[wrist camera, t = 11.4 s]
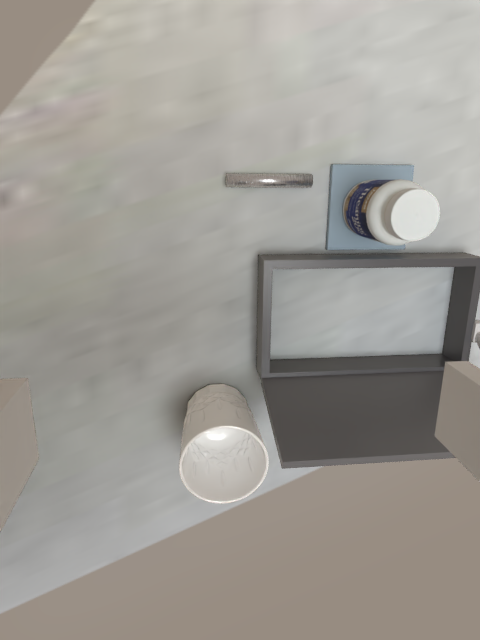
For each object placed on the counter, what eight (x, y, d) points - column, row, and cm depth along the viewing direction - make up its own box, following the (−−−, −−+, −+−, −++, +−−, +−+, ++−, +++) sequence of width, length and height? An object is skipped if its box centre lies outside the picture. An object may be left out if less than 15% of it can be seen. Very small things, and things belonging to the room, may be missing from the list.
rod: (225, 186, 43) (226, 187, 42) (225, 173, 42) (226, 173, 41) (309, 187, 44) (312, 187, 43) (309, 174, 43) (313, 174, 42)
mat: (325, 249, 46) (327, 249, 45) (330, 164, 43) (332, 164, 43) (402, 248, 46) (404, 249, 46) (411, 165, 44) (414, 165, 44)
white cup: (260, 432, 51) (277, 489, 41) (192, 451, 51) (193, 514, 41) (243, 369, 48) (257, 415, 39) (171, 389, 48) (167, 440, 39)
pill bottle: (342, 180, 43) (384, 179, 34) (396, 179, 44) (452, 177, 35) (340, 237, 45) (379, 252, 36) (392, 235, 45) (445, 249, 36)
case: (255, 390, 49) (282, 469, 36) (258, 254, 45) (289, 286, 31) (452, 381, 52) (547, 453, 38) (472, 252, 47) (587, 281, 34)
